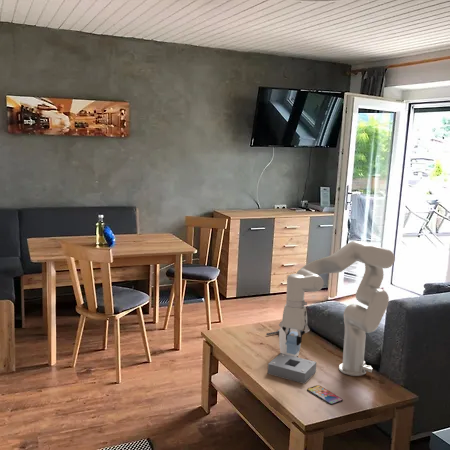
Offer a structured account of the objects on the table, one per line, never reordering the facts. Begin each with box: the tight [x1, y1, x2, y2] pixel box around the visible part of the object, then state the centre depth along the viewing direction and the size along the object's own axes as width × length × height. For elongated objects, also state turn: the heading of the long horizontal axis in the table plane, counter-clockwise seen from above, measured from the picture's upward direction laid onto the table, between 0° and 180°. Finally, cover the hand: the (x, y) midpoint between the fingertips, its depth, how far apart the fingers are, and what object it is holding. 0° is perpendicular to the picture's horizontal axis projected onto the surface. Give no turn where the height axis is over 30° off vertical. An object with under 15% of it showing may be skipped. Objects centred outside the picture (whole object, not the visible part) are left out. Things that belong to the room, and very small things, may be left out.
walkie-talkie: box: [266, 329, 280, 336], centre depth 283 cm, size 9×4×20 cm
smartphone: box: [306, 384, 343, 406], centre depth 218 cm, size 7×1×15 cm
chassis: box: [267, 353, 317, 385], centre depth 238 cm, size 18×14×5 cm
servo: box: [285, 331, 301, 355], centre depth 225 cm, size 4×9×8 cm, turn 151°
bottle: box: [278, 326, 302, 357], centre depth 256 cm, size 11×11×25 cm
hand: (293, 342), depth 225 cm, fingers closed on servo, 4 cm apart
